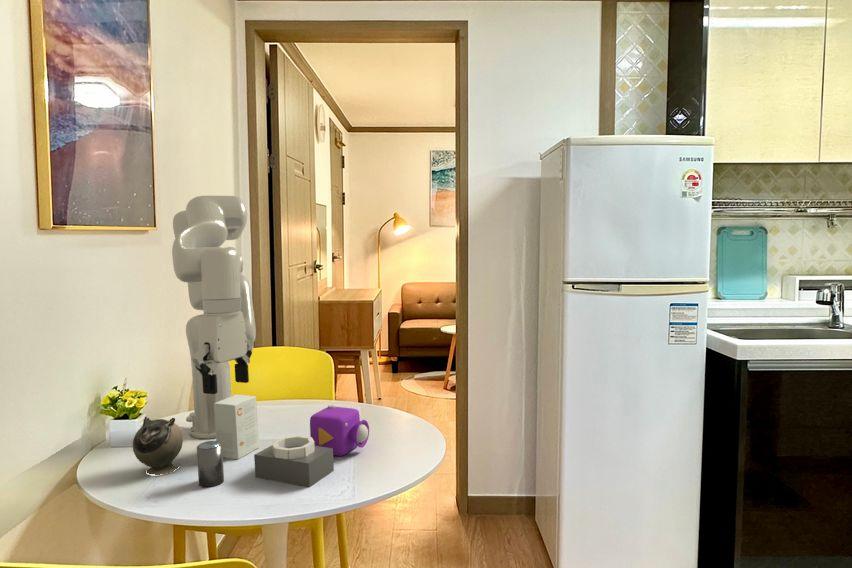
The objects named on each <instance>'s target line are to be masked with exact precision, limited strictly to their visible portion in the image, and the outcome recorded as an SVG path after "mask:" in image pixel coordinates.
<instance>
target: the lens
mask: <svg viewBox="0 0 852 568" xmlns="http://www.w3.org/2000/svg"><path fill="white" fill-rule="evenodd" d="M196 456H197V457H196V459H197V473H198V474H197V475H198V477H197V478H198V479H197V480H198V486H199V487H200V488H204V489H209V488H214V487H217V486H221V485H222V484H223V483H225V475H224V457H223V453H222V443H220V442H219V441H216V440H207V441H204V442H203V441H202V442H200V443H199V444H198V445H197V446H196Z"/></svg>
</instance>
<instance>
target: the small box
mask: <svg viewBox="0 0 852 568" xmlns="http://www.w3.org/2000/svg"><path fill="white" fill-rule="evenodd" d="M257 404H258V403H257V396H255V395H248V394H247V395H246V394H234V395H231V397H229V398H226V399H224V400H221V401H219V402H216V403H214V414H215V429H216V438H215V441H219V442H220V443H222V453H223V459H224V458H226V459H232V460H239V459H241V458H243V457H245V456H246V455H248V454H250V453H252V452H254V451H256V450H258V449H259V448H260V441H259V423H258V422H259V421H258V405H257Z"/></svg>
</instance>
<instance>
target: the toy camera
mask: <svg viewBox="0 0 852 568" xmlns="http://www.w3.org/2000/svg"><path fill="white" fill-rule="evenodd" d="M360 416H361V414H360V412H359V410H358V409H356V408H351V407H350V408H349V407H342V406H336V404H328V405H327V406H326V407H325V408H323V409H322V410H319V411H316V412H315V413H314V414H312V415H311V416H310V418H309V434H310V436H309V437H312V438H313V440H314V442H315V446H320V447H327V448H333V456H339V457H342V456H344V455H347V454H348V453H349V452H352V451H353V450H355V448H357V447H358V448H361V449H362V448H364V447H365V446H366V444H367V442H368V440H369V436H370V426H369V422H368V421H367V420H366V419H361V417H360Z"/></svg>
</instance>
